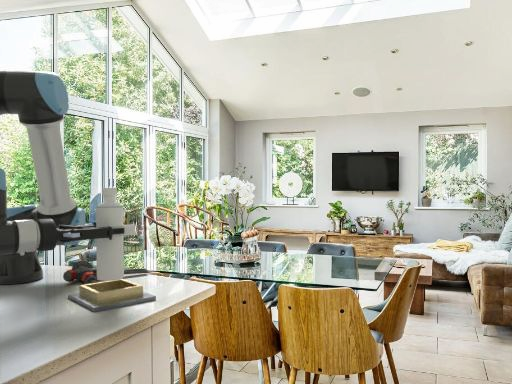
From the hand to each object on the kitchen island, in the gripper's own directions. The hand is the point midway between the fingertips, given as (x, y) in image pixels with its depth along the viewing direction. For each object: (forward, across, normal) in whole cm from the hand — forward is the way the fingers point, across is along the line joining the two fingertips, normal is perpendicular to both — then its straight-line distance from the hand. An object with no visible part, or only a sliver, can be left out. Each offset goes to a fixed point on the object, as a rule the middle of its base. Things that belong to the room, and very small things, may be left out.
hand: (128, 228), depth 122 cm
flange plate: (-5, 0, -18) cm, 19 cm away
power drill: (+4, -23, -18) cm, 30 cm away
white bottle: (-5, 0, -13) cm, 14 cm away
